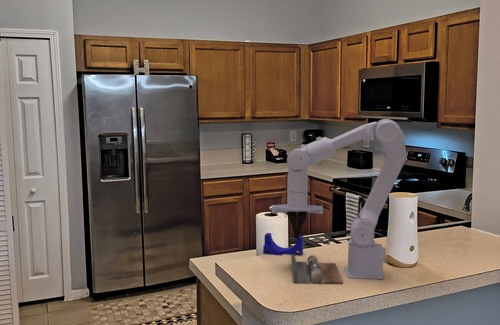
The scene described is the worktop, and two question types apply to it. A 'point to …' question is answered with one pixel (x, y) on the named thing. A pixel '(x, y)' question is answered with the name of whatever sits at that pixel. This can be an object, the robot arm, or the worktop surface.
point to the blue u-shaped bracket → (277, 250)
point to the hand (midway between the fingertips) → (296, 237)
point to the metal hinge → (302, 270)
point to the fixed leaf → (325, 273)
